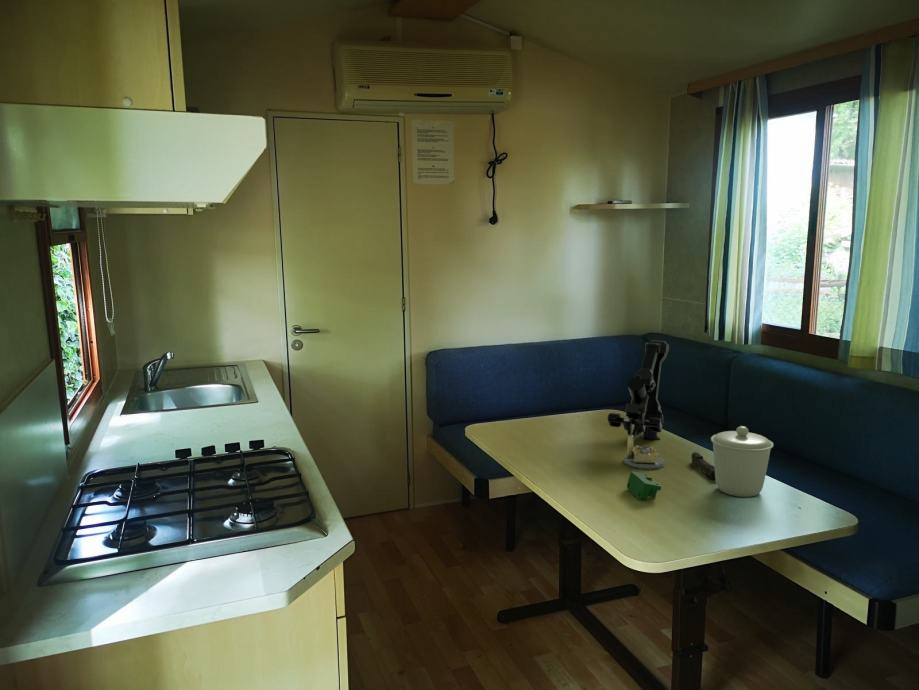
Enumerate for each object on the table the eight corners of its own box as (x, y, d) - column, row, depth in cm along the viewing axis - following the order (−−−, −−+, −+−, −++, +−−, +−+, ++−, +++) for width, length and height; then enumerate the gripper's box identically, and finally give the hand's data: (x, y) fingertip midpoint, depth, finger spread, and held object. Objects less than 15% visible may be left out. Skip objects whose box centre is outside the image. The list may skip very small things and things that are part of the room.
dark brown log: (722, 481, 230) (723, 467, 230) (710, 481, 230) (711, 468, 229) (699, 463, 249) (700, 450, 248) (688, 463, 249) (689, 450, 248)
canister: (740, 478, 232) (744, 416, 229) (783, 497, 215) (788, 431, 212) (695, 485, 226) (699, 422, 222) (736, 505, 209) (740, 437, 206)
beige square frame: (625, 454, 252) (626, 432, 251) (654, 456, 251) (655, 433, 250) (628, 462, 244) (629, 438, 243) (657, 463, 243) (658, 439, 242)
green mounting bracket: (652, 512, 215) (664, 490, 211) (634, 508, 214) (646, 487, 210) (641, 485, 226) (653, 464, 221) (624, 481, 225) (636, 460, 220)
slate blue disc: (629, 454, 257) (629, 440, 256) (668, 460, 251) (668, 445, 250) (619, 466, 245) (620, 450, 244) (660, 472, 239) (661, 456, 238)
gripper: (609, 391, 255) (600, 428, 247) (661, 396, 246) (653, 435, 238) (614, 407, 263) (605, 443, 255) (665, 413, 255) (657, 450, 247)
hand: (630, 442), depth 249 cm, fingers closed, pressing on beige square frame
